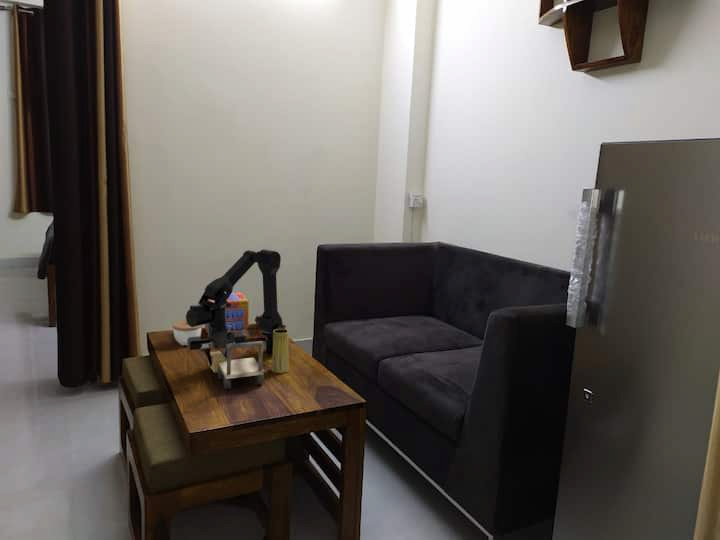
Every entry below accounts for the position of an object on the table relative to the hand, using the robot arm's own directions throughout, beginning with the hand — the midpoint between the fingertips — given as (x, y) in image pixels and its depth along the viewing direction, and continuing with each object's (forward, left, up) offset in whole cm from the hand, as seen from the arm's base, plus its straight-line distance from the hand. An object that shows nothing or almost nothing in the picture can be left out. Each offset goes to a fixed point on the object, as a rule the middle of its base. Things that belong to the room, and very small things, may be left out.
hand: (217, 365), depth 183 cm
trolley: (-5, +12, -2) cm, 13 cm away
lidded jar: (+5, -33, -2) cm, 34 cm away
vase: (-20, +6, -2) cm, 21 cm away
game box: (-12, -42, -2) cm, 44 cm away
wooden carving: (-26, -30, -2) cm, 40 cm away
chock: (0, 0, -1) cm, 1 cm away
